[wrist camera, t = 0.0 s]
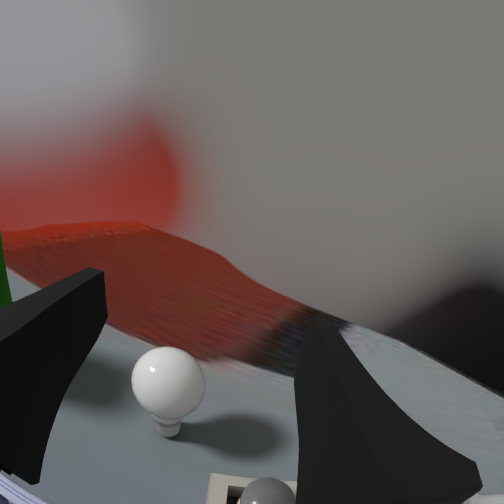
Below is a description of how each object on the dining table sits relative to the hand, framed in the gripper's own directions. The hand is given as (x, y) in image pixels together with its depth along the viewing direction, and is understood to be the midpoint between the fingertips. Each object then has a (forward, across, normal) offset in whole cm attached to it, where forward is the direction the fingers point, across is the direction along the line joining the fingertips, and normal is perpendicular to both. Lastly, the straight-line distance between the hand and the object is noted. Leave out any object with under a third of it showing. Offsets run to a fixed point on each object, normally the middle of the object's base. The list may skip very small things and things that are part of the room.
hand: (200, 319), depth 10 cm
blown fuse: (-2, -6, +22) cm, 23 cm away
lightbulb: (+7, +3, +23) cm, 24 cm away
